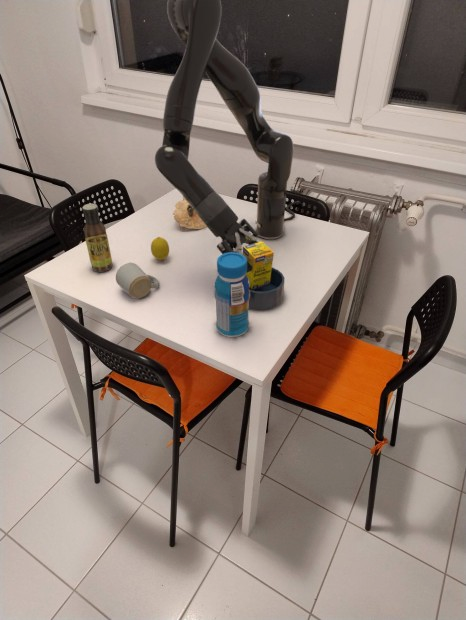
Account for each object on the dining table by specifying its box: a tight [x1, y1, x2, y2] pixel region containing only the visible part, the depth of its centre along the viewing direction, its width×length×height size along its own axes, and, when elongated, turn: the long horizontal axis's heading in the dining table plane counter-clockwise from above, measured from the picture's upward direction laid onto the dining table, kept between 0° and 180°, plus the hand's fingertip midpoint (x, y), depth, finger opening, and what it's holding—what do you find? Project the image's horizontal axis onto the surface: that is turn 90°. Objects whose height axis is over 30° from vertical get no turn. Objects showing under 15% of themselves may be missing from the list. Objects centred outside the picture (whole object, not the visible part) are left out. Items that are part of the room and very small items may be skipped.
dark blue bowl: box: [249, 266, 286, 312], centre depth 108 cm, size 13×13×6 cm
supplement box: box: [242, 240, 275, 290], centre depth 105 cm, size 6×6×11 cm
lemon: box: [150, 236, 170, 261], centre depth 123 cm, size 6×6×8 cm
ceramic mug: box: [115, 262, 160, 299], centre depth 110 cm, size 11×8×8 cm
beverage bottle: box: [213, 252, 250, 338], centre depth 94 cm, size 8×8×20 cm
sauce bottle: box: [82, 203, 113, 273], centre depth 116 cm, size 6×6×20 cm
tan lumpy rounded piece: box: [172, 196, 208, 230], centre depth 145 cm, size 18×14×8 cm
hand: (256, 262), depth 104 cm, fingers closed on supplement box, 8 cm apart
